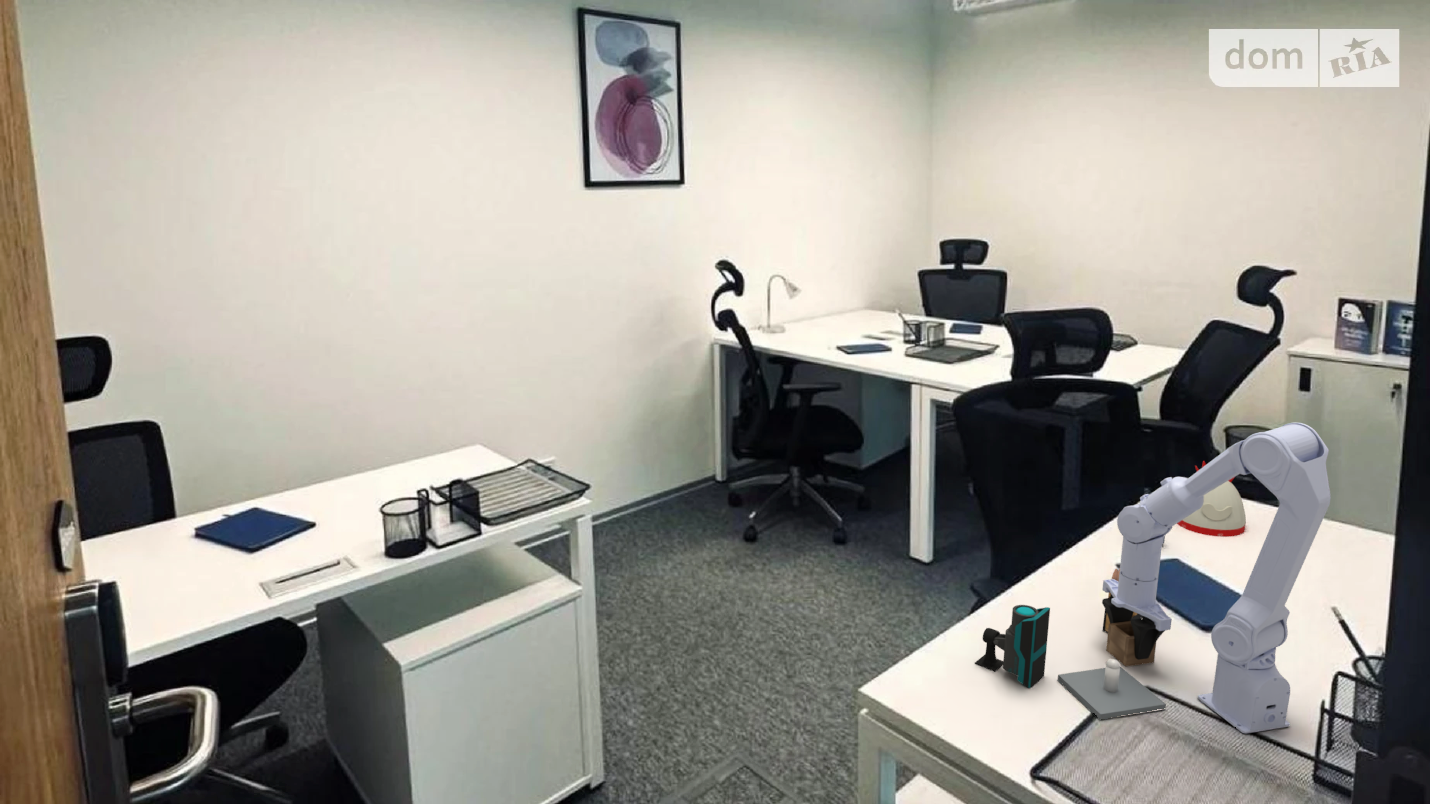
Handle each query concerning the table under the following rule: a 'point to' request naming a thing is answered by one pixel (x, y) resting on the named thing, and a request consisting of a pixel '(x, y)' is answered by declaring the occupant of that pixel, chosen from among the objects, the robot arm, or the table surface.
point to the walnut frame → (1125, 644)
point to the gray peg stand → (1110, 691)
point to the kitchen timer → (1218, 513)
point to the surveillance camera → (1020, 645)
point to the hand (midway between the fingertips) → (1130, 648)
